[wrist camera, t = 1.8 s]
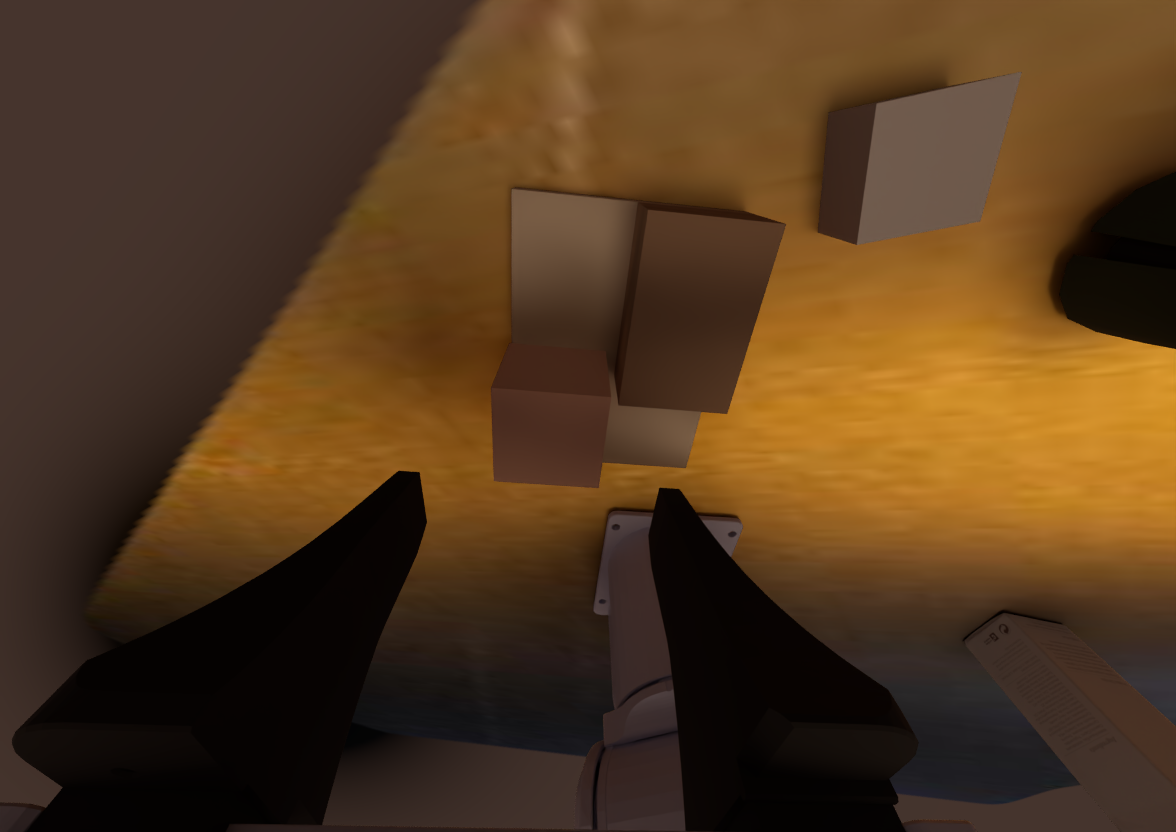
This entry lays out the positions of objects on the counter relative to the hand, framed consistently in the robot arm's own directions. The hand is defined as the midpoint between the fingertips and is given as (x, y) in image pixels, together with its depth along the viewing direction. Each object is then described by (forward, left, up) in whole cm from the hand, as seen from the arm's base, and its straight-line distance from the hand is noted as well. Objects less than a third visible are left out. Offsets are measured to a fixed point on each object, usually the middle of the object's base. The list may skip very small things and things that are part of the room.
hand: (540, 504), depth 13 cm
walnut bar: (+4, -5, -9) cm, 11 cm away
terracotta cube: (0, 0, -8) cm, 8 cm away
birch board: (+2, -3, -9) cm, 9 cm away
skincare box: (-18, -36, -9) cm, 41 cm away
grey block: (+10, -12, -9) cm, 18 cm away
